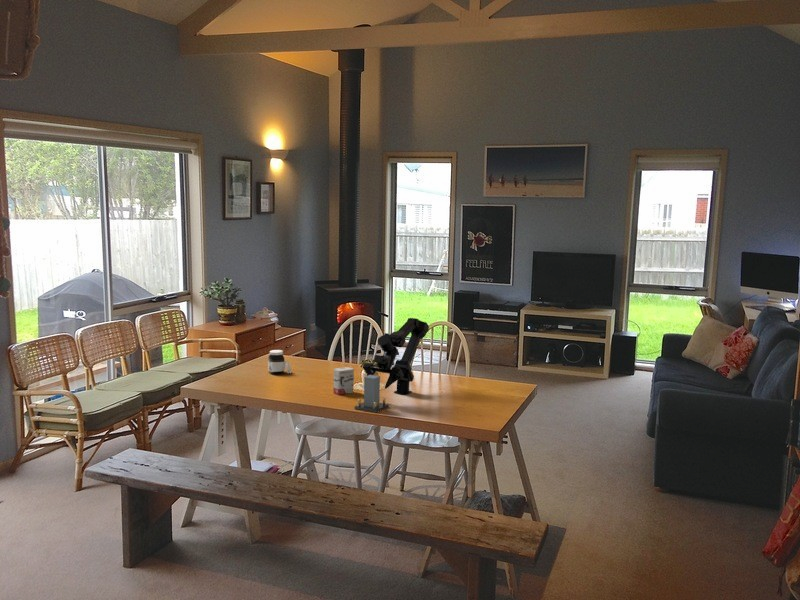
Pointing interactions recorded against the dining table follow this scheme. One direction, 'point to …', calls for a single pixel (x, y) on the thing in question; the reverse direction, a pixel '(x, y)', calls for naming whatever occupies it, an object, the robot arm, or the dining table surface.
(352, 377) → the ink box
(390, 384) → the robot arm
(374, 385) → the post
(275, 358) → the spread jar
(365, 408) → the base plate
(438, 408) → the dining table surface
